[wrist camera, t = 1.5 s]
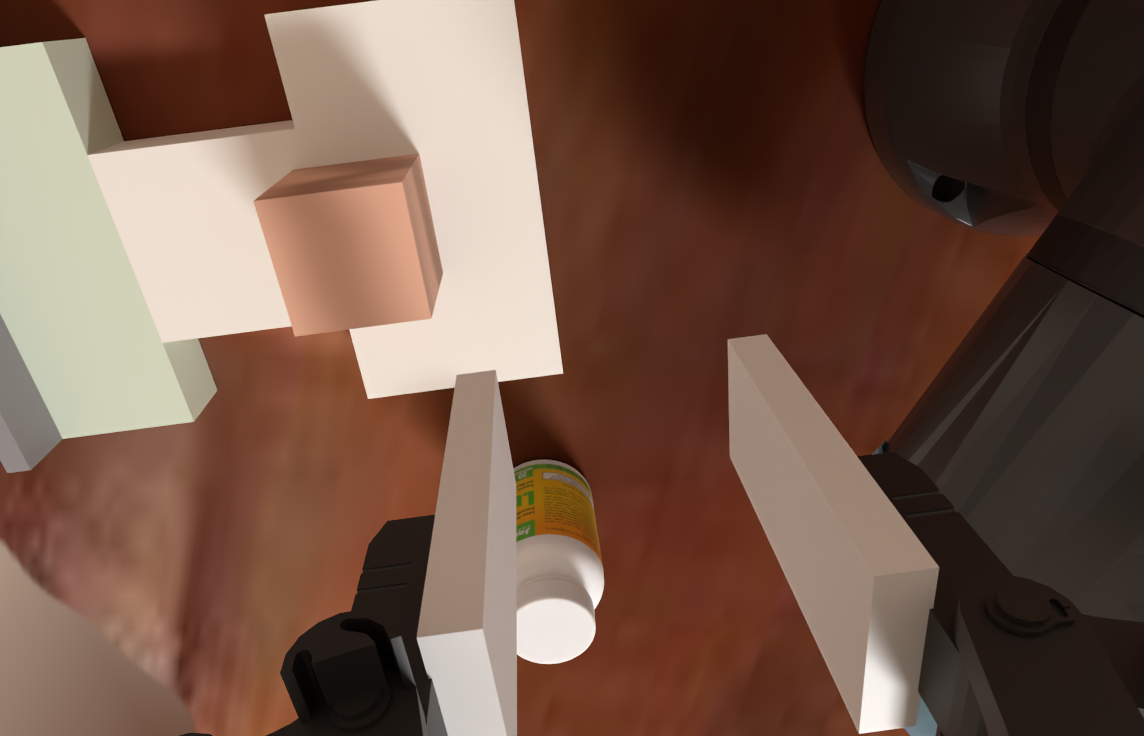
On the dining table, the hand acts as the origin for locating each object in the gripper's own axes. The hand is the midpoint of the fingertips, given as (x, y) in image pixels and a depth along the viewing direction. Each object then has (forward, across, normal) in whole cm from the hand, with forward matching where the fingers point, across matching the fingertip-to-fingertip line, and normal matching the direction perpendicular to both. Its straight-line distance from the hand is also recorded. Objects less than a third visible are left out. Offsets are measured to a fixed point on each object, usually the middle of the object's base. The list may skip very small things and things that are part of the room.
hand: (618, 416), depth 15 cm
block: (+18, +8, 0) cm, 19 cm away
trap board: (+21, +13, 0) cm, 24 cm away
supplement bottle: (+21, +3, +17) cm, 27 cm away
